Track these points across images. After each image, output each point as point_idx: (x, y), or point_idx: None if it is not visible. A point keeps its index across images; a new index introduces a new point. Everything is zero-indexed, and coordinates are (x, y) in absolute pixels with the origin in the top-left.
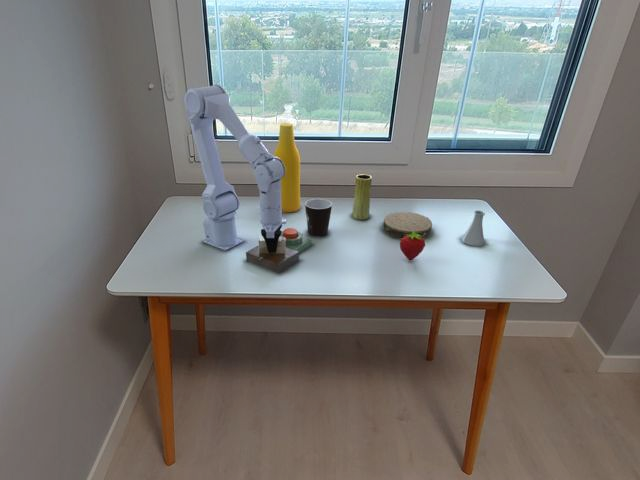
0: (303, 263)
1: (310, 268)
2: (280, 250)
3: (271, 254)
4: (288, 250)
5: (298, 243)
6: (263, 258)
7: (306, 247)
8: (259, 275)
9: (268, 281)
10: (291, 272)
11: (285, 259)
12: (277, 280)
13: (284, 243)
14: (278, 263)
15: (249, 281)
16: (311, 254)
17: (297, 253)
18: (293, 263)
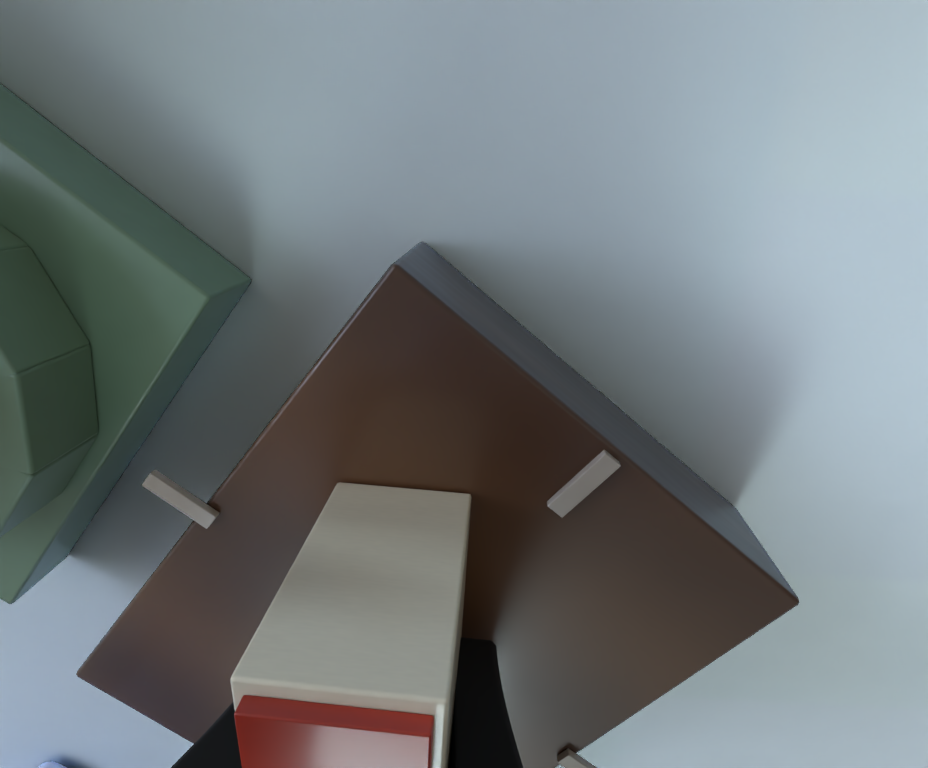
0: (504, 177)
1: (675, 68)
2: (462, 598)
3: None
4: (355, 440)
5: (6, 237)
6: (582, 742)
7: (4, 91)
8: (719, 674)
9: (871, 610)
10: (733, 364)
11: (665, 505)
12: (883, 528)
13: (453, 658)
14: (774, 602)
15: (812, 748)
16: (210, 14)
17: (438, 292)
18: (521, 328)
